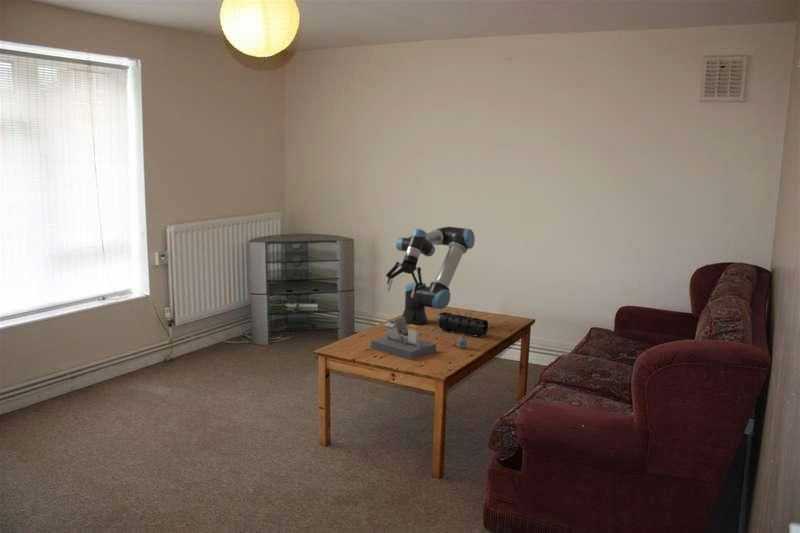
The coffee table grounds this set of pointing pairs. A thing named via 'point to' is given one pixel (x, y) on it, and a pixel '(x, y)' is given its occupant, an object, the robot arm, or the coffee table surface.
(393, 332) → the breaker
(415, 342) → the breaker
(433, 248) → the robot arm
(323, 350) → the coffee table surface
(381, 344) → the breaker panel
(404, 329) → the electrical switch
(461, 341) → the reed diffuser
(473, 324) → the muzzle brake
